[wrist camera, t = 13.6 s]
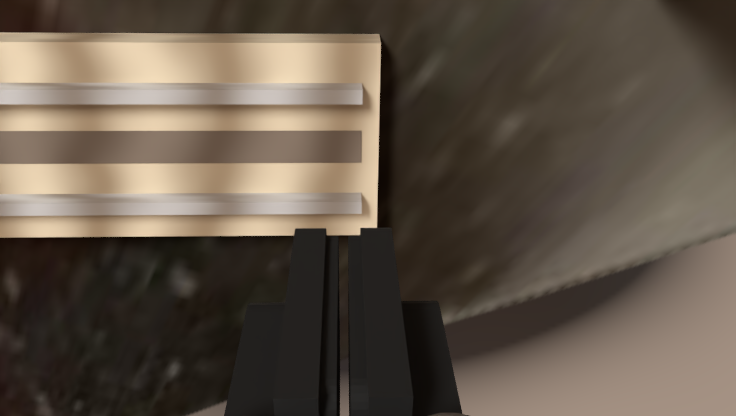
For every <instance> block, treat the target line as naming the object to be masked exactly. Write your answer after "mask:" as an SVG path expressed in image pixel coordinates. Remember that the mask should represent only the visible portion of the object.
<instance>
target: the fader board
mask: <svg viewBox="0 0 736 416" xmlns="http://www.w3.org/2000/svg"><path fill="white" fill-rule="evenodd" d="M380 67H381V41H380V36H379V34H219V33H0V238H11V237H152V236H293V235H294V232H295V229H296V228H326V231H327V235H360V228H377V202H378V157H379V112H380Z"/></svg>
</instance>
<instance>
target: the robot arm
mask: <svg viewBox="0 0 736 416" xmlns="http://www.w3.org/2000/svg"><path fill="white" fill-rule="evenodd" d="M348 276H349V416H468V415H463V414H462V410H461V405H460V401H459V396H458V392H457V386H456V382H455V377H454V372H453V367H452V363H451V358H450V354H449V349H448V344H447V339H446V335H445V330H444V325H443V320H442V316H441V311H440V307H439V303H438V302H437V301H401V298H400V290H399V282H398V274H397V266H396V259H395V251H394V243H393V235H392V229H391V228H360V236H348ZM224 416H340V321H339V238H338V236H327V231H326V228H296V229H295V232H294V240H293V248H292V255H291V263H290V271H289V279H288V287H287V294H286V302H285V303H249V305H248V307H247V310H246V315H245V320H244V324H243V329H242V334H241V339H240V343H239V348H238V353H237V358H236V362H235V367H234V372H233V377H232V381H231V386H230V391H229V396H228V400H227V405H226V410H225V414H224Z"/></svg>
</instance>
